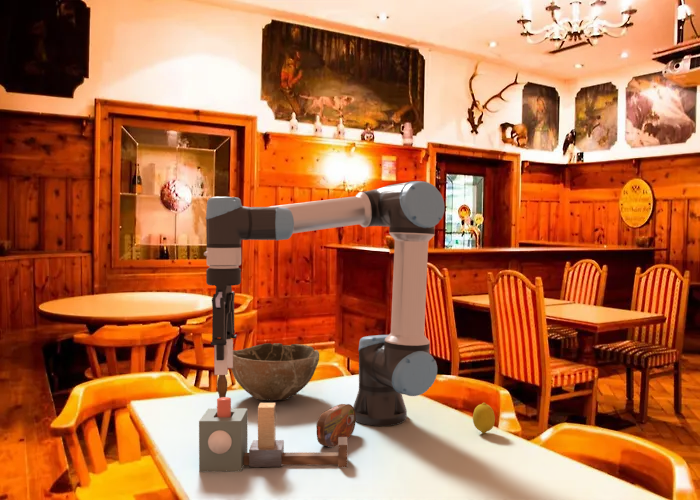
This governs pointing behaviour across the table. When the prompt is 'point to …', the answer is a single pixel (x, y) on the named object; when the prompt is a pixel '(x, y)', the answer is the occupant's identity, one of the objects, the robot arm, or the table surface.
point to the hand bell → (222, 386)
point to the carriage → (266, 439)
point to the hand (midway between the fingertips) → (223, 370)
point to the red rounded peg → (224, 407)
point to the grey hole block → (222, 441)
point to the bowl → (274, 369)
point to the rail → (315, 457)
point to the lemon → (483, 418)
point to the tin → (335, 424)
